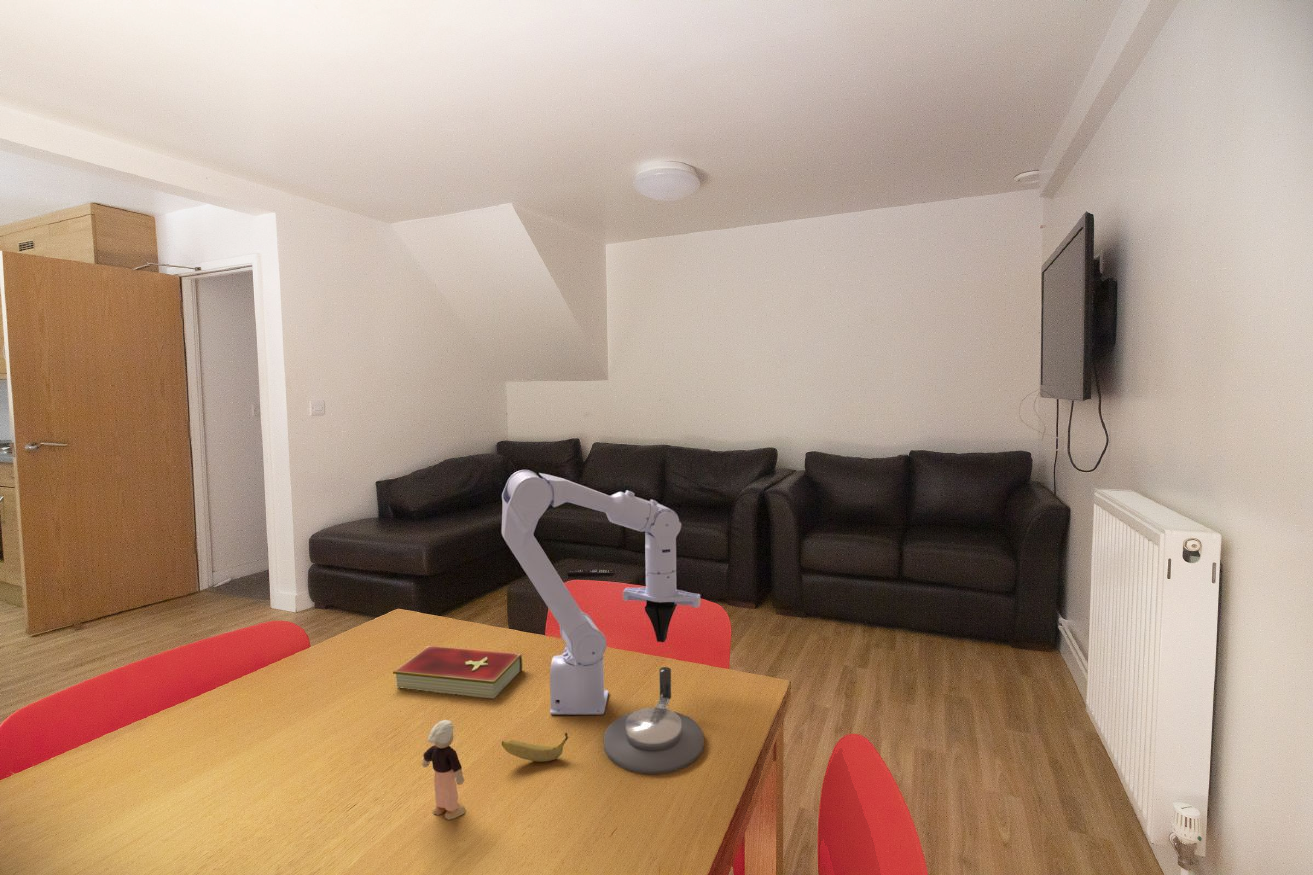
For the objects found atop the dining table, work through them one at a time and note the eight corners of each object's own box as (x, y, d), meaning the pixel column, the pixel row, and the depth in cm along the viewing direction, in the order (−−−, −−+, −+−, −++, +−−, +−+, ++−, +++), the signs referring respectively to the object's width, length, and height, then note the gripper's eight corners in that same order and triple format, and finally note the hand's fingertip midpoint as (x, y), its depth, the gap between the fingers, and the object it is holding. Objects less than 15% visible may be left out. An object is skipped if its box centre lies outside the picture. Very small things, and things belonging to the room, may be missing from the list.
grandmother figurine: (478, 805, 87) (474, 718, 86) (461, 824, 84) (456, 734, 82) (432, 794, 90) (427, 709, 88) (413, 812, 86) (408, 724, 85)
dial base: (598, 773, 94) (598, 764, 94) (609, 715, 110) (609, 708, 110) (705, 774, 93) (705, 765, 93) (701, 716, 109) (701, 708, 109)
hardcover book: (429, 663, 132) (428, 643, 132) (522, 672, 128) (521, 652, 127) (394, 691, 121) (392, 670, 120) (495, 702, 116) (494, 680, 116)
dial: (675, 753, 96) (674, 713, 95) (618, 746, 98) (618, 706, 98) (691, 705, 110) (691, 669, 110) (642, 699, 112) (641, 664, 112)
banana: (501, 769, 95) (500, 744, 95) (503, 759, 98) (502, 735, 97) (569, 762, 97) (568, 737, 96) (568, 753, 99) (568, 729, 99)
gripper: (703, 566, 119) (704, 635, 120) (631, 560, 123) (632, 627, 124) (695, 577, 112) (695, 650, 114) (618, 571, 116) (620, 642, 118)
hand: (661, 639), depth 119 cm, fingers closed
